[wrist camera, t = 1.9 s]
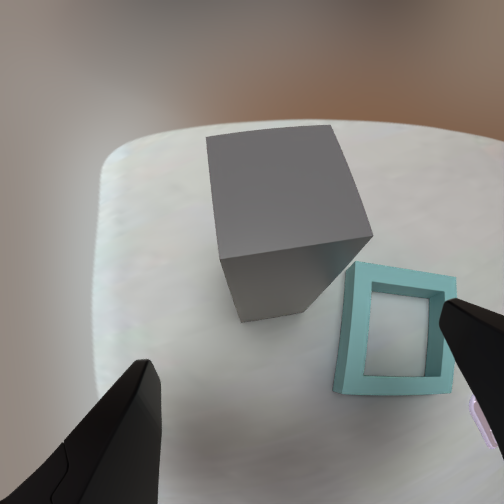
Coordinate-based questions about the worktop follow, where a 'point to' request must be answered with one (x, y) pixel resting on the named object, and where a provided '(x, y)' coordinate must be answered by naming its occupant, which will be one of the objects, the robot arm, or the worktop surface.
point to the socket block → (357, 326)
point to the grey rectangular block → (283, 216)
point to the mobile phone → (482, 423)
